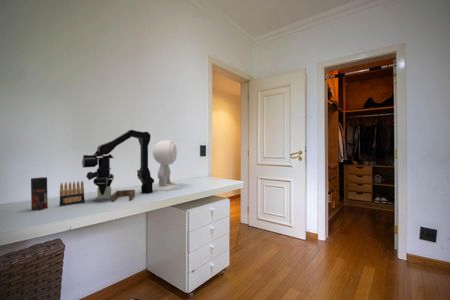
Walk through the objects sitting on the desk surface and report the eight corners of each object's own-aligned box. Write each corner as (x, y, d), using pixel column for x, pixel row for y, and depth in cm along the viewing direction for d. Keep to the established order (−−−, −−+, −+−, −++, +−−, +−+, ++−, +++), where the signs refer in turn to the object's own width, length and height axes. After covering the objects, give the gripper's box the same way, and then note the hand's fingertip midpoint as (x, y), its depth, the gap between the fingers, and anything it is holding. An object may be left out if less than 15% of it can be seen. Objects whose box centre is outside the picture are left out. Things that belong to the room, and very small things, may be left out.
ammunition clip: (59, 206, 107) (59, 182, 107) (59, 205, 109) (59, 182, 108) (84, 202, 114) (84, 180, 114) (84, 202, 116) (83, 180, 116)
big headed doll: (176, 190, 144) (176, 139, 144) (143, 190, 145) (142, 139, 144) (183, 185, 164) (182, 140, 164) (153, 185, 165) (153, 140, 164)
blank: (111, 196, 125) (111, 186, 125) (109, 198, 121) (109, 187, 121) (99, 197, 123) (99, 187, 123) (97, 198, 119) (97, 188, 119)
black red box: (34, 207, 105) (33, 177, 105) (49, 206, 107) (48, 177, 107) (29, 211, 99) (28, 179, 99) (45, 209, 102) (44, 178, 102)
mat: (114, 196, 128) (114, 195, 128) (111, 200, 119) (111, 198, 119) (98, 197, 125) (98, 196, 125) (93, 201, 116) (93, 200, 116)
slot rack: (134, 195, 131) (134, 189, 131) (131, 200, 118) (131, 194, 118) (116, 196, 128) (116, 190, 128) (111, 202, 115) (111, 195, 115)
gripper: (93, 165, 128) (93, 191, 129) (82, 168, 111) (82, 198, 111) (113, 164, 132) (114, 189, 132) (105, 167, 114) (106, 196, 114)
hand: (104, 193), depth 122 cm, fingers open, 9 cm apart
